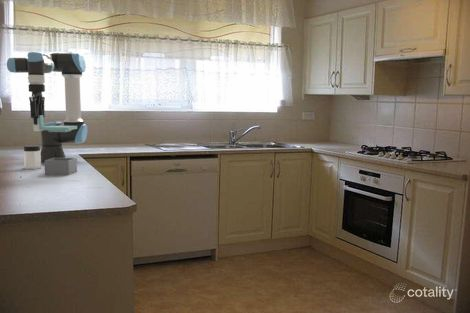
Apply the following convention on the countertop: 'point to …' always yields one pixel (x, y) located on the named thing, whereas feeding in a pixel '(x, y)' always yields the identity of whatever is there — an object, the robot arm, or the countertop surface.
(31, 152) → the jar
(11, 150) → the countertop surface
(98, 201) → the countertop surface
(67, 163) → the tub
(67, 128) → the teal t-shaped block
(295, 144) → the countertop surface
